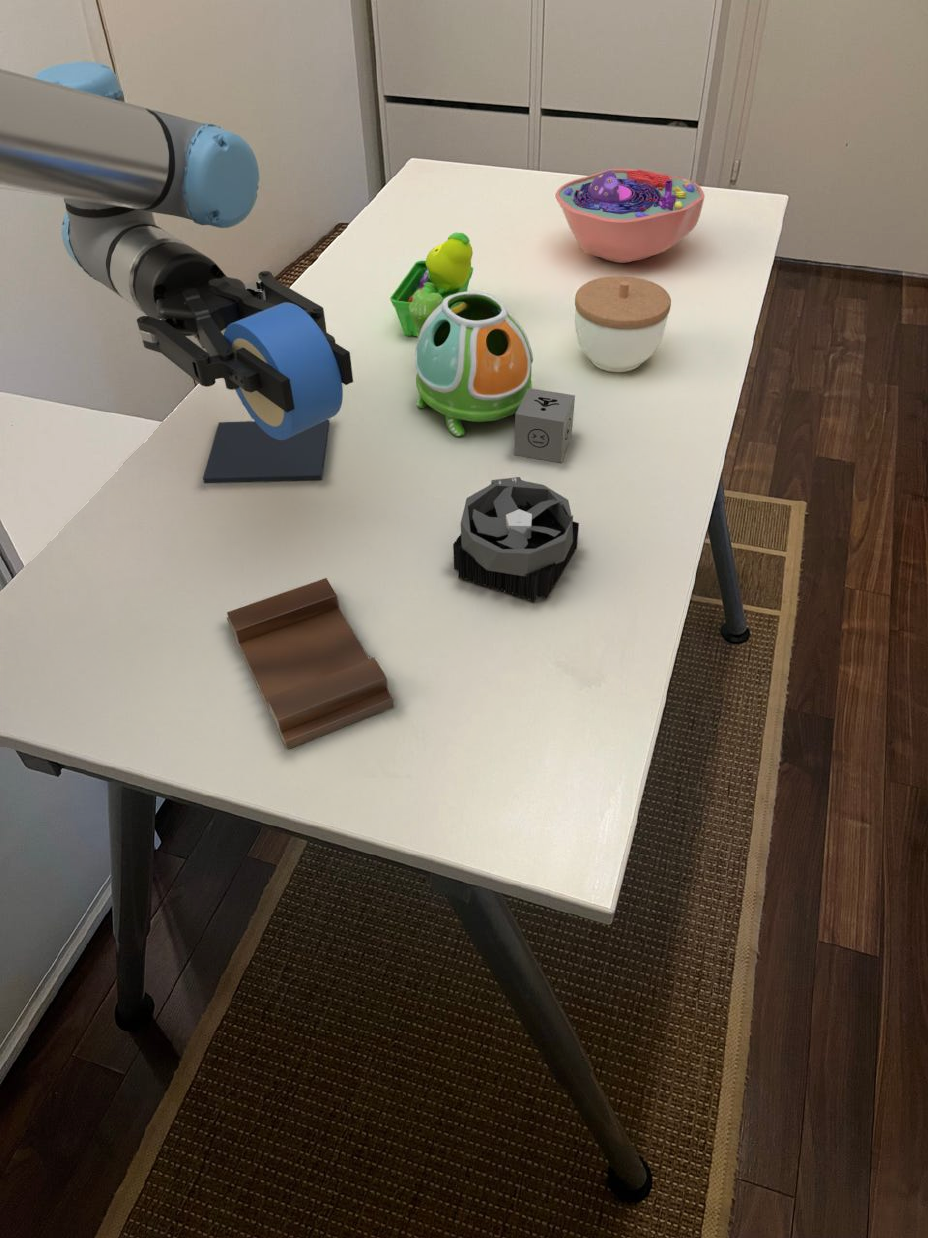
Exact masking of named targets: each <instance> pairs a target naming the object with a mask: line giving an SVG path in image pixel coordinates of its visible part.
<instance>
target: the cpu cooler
mask: <svg viewBox="0 0 928 1238" xmlns="http://www.w3.org/2000/svg"><path fill="white" fill-rule="evenodd" d="M490 481H491V483H490V484H489V485H486V487H484V488H482V489H480V490H478V491H477V492H475V493H473V494H472V495H469V496H467V497H466V499H465V503H464V507H463V511H462V515H461V520H460V534H459V536H457V538H456V539H455V541H454V542H453V544H452V550H453V551H452V552H453V569H454V570H455V571H458V572H457V575H458V579H459V580H462V581H467V582H468V583H472V584H475V585H478V586H481V587H484V588H488V589H490V590H494V591H497V592H501V593H504V594H506V595H509V596H512V597H517V598H518V599H521V600H522V599H523V600H526V601H528V602H532V603H535V602H536V599H537V598H538V597H541V598H544V599H546V600H547V599H548V598H549V596H550V595H551V593H552V591H553V590H554V588H555V586H556V584H557V583H558V582H559V581H558V580H560V577H561V576H562V574H563V572H564V570H565V569H566V567H567V566H568V563H569V562H570V561H571V559H572V557H573V555H574V554H575V552H576V550H577V548H578V538H579V530H580V529H579V527H580V523H579V522H576V521H574V515H573V514H572V510H571V505H570V502H569V499H567V498H566V497H564V496H563V495H562V494H559V493H558V492H556V491H554V490H553V489H552V488H550V487H548V486H547V485H545V484H542V483H537V482H531V481H526V480H524V479H522V478H521V476H515V477H507V478H498V479H491V480H490Z"/></svg>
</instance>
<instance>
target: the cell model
mask: <svg viewBox="0 0 928 1238" xmlns="http://www.w3.org/2000/svg"><path fill="white" fill-rule="evenodd" d="M705 197H706V195H705V193H704V191H703V189H702V187H701V185H699V184H698V183H696V182H694V181H692V180H689V179H686V178H683V177H680V176H674V175H671V174H667V173H662V172H659V171H655V170H650V169H638V168H611V169H609V168H608V169H606V170H605V169H604V170H603V171H600V172H597V173H592V174H590V175H587V176H583V177H580V178H576V179H573V180H570V181H568V182H566V183H564V184H563V185H561V186H560V187H559V188H558V189H557V190H556V192H555V199H556V201H557V203H558V205H559V207H560V209H561V210H562V213H563V214H564V217H565V219H566V222H567V224H568V227H569V229H570V231H571V233H572V234H573V236H574V238H575V239H576V243H577V244H578V246H579V248H580V249H581V250H582V251H583V252H584V253H586V254H588V255H590V256H594V257H597V258H600V259H603V260H606V261H609V262H613V263H621V264H625V263H631V262H636V261H641V260H645V259H647V258H650V257H652V256H656V255H659V254H661V253H664V252H666V251H667V250H669V249H670V248H672V247H674V246H675V245H676V244H678V243H679V242H680V241H682V240H683V239H685V238H686V237H687V236H689V234H690V233H691V232H692V231H693V230H694V229H695V227H696V226H697V225H698V223H699V220H700V217H701V214H702V210H703V205H704V202H705Z"/></svg>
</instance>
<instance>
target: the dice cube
mask: <svg viewBox="0 0 928 1238" xmlns="http://www.w3.org/2000/svg"><path fill="white" fill-rule="evenodd" d="M575 402H576V394H571V393H563V392H557V391H550V390H543V389H537V388H532V389H531V388H528V389H527V391H526V393H525V395H524V397H523V399H522V401H521V403H520V406H519V408H518V410H517V412H516V413H514V414H515V416H514V449H513V454H514V455H513V456H519V457H525V458H529V459H535V460H541V461H548V462H554V463H558V464H562V462H563V459H564V457H565V454H566V451H567V449H568V447H569V444H570V441H571V439H572V437H573V426H574V425H573V424H574V414H575Z"/></svg>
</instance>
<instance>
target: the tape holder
mask: <svg viewBox="0 0 928 1238" xmlns="http://www.w3.org/2000/svg"><path fill="white" fill-rule="evenodd" d="M226 616H227V617H226V621H227V623H228V627H229V628H230V630H231V633H232V635H233V637H234V639H235V641H236V644H237V646H238V647H239V650H240V652H241V654H242V656H243V658H244V660H245V662H246V665H247V668H248V669H249V672H250V673H251V675H252V678H253V680H254V682H255V684H256V686H257V688H258V690H259V692H260V695H261V697H262V699H263V701H264V703H265V705H266V708H267V709H268V712H269V714H270V716H271V719H272V720H273V724H274V725H275V727H276V729H277V731H278V734H279V736H280V738H281V740H282V742H283V744H284V746H285V748H286V749H287V750H290V749H293V748H295V747H297V746H299V745H302V744H304V743H306V742H309V741H312V740H314V739H317V738H319V737H321V736H324V735H327V734H329V733H331V732H334V731H337V730H339V729H342V728H344V727H347V726H349V725H351V724H352V725H353V724H354V723H357V722H359V721H361V720H364V719H367V718H369V717H372V716H374V715H376V714H380V713H381V712H384V711H387V710H389V709H392V708H394V707H395V703H394V698H393V696H392V694H391V693H390V691H389V687H388V686H389V685H388V679H387V676H386V674H385V672H384V671H383V670H382V667H381V666H380V664H379V663H378V661H377V659H376V658H375V657H372V658H371V657H369V656H368V654H367V653H366V651H365V649H364V647H363V645H362V643H361V642H360V641H359V639H358V637H357V635H356V634H355V633H354V631H353V629H352V627H351V625H350V624H349V622H348V621H347V618H346V617H345V615H344V614H343V612H342V610H341V609H340V606H339V599H338V594H337V593H336V591H335V590H334V588H333V586H332V585H331V582H330V581H329V579H328V578H327V577H325V578H322V579H318V580H316V581H313V582H311V583H310V582H309V583H307V584H304V585H302V586H299V587H296V588H293V589H290V590H287V591H284V592H280V593H278V594H275V595H273V596H270V597H267V598H264V599H262V600H258V601H255V602H252V603H250V604H247V605H245V606H240V607H238V608H236V609H232V610H230V611H227V612H226Z"/></svg>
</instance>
